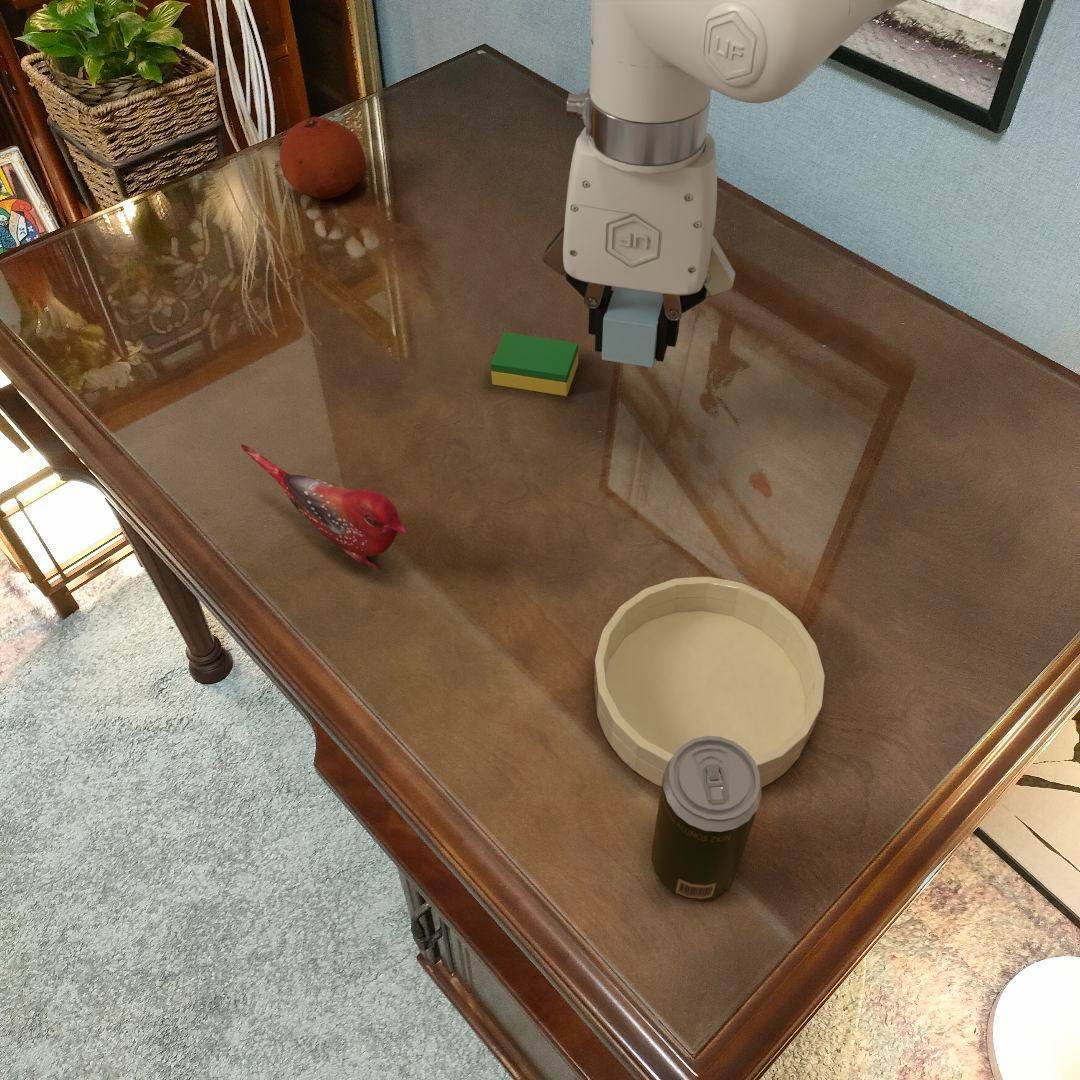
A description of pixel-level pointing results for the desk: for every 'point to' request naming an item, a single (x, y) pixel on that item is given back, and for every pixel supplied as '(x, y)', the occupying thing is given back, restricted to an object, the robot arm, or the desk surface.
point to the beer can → (704, 816)
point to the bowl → (706, 675)
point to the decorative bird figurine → (340, 511)
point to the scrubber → (534, 364)
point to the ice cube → (631, 327)
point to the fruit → (321, 158)
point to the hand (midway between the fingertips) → (632, 343)
